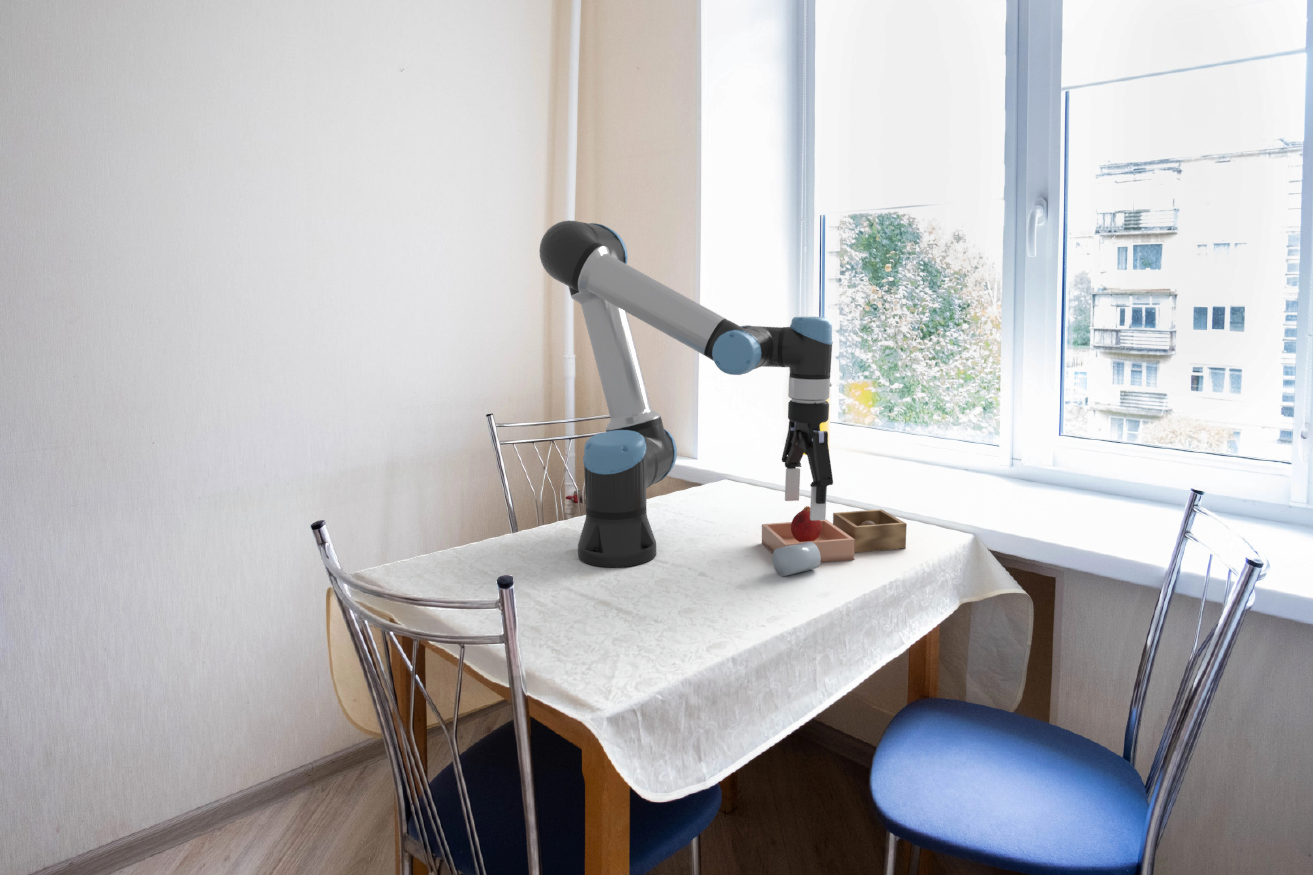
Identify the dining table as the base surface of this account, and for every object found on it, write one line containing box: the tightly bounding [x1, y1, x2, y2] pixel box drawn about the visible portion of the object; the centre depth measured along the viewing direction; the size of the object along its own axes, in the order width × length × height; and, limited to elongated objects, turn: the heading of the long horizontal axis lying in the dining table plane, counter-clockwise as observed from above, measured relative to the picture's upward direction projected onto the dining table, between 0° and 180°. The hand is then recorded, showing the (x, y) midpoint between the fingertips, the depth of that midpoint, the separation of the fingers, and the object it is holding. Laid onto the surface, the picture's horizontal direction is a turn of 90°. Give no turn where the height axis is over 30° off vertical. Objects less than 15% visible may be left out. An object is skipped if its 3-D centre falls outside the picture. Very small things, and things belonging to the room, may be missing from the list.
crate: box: [832, 508, 908, 553], centre depth 163 cm, size 11×11×5 cm
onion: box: [791, 505, 822, 542], centre depth 157 cm, size 6×6×8 cm
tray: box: [761, 519, 855, 564], centre depth 158 cm, size 14×14×4 cm
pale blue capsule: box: [771, 541, 821, 577], centre depth 147 cm, size 7×5×5 cm
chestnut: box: [860, 521, 876, 526], centre depth 163 cm, size 4×4×4 cm
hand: (804, 509), depth 157 cm, fingers open, 13 cm apart
